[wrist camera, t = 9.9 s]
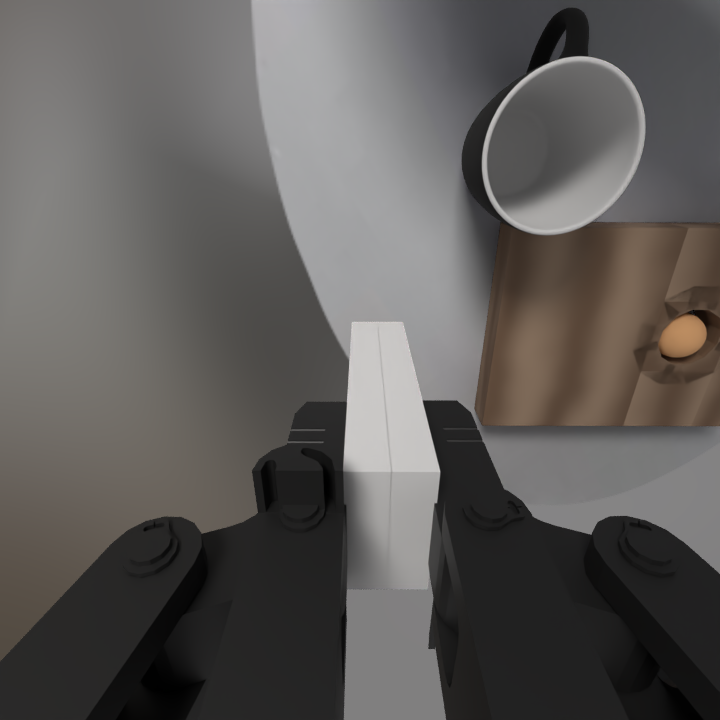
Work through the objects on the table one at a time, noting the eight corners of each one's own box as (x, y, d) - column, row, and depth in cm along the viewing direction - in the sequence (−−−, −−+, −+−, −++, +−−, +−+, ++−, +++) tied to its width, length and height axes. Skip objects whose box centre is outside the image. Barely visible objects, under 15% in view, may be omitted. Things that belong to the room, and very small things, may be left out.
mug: (545, 221, 34) (612, 244, 25) (437, 210, 34) (466, 228, 25) (595, 43, 29) (702, -11, 20) (469, 27, 29) (519, -35, 20)
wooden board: (474, 408, 42) (482, 425, 39) (500, 222, 34) (512, 227, 32) (702, 409, 42) (726, 426, 39) (781, 222, 34) (817, 228, 32)
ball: (645, 306, 37) (677, 324, 34) (689, 303, 37) (726, 320, 34) (634, 346, 39) (663, 367, 36) (676, 343, 39) (710, 363, 36)
